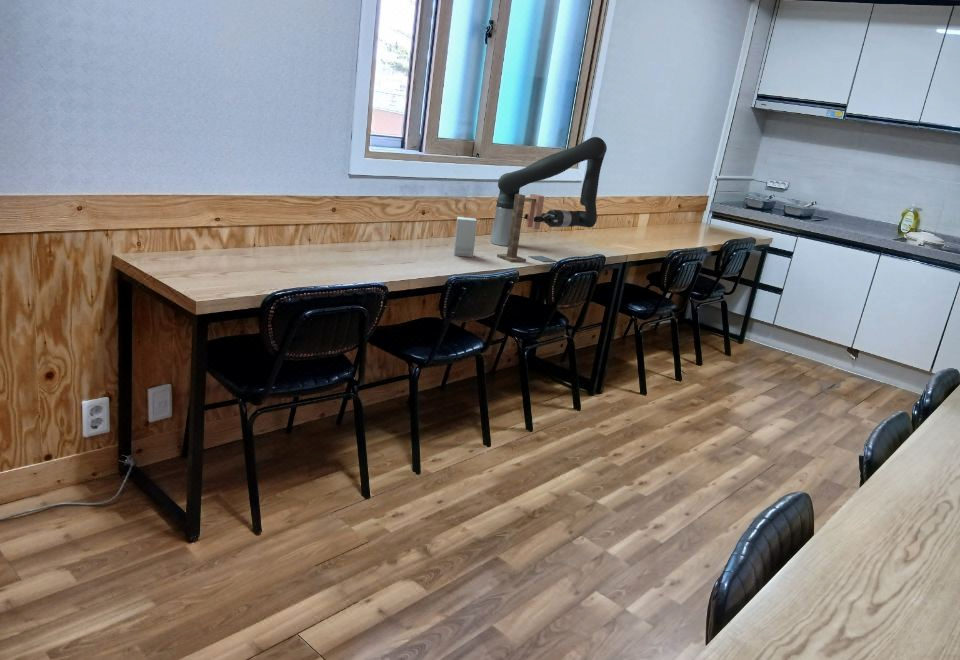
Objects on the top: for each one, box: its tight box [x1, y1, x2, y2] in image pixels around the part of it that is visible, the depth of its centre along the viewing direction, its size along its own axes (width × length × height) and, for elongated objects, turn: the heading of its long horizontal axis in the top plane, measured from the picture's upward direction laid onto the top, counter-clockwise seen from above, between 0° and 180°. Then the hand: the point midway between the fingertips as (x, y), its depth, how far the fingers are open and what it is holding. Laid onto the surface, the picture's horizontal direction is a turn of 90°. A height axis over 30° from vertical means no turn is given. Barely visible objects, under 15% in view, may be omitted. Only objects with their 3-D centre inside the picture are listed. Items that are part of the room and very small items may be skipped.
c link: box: [525, 193, 545, 230], centre depth 317 cm, size 6×3×14 cm, turn 37°
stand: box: [496, 193, 536, 263], centre depth 315 cm, size 10×17×28 cm, turn 127°
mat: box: [527, 255, 558, 263], centre depth 326 cm, size 10×8×1 cm
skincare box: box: [453, 216, 478, 258], centre depth 310 cm, size 8×7×16 cm
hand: (529, 217), depth 316 cm, fingers closed on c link, 5 cm apart
